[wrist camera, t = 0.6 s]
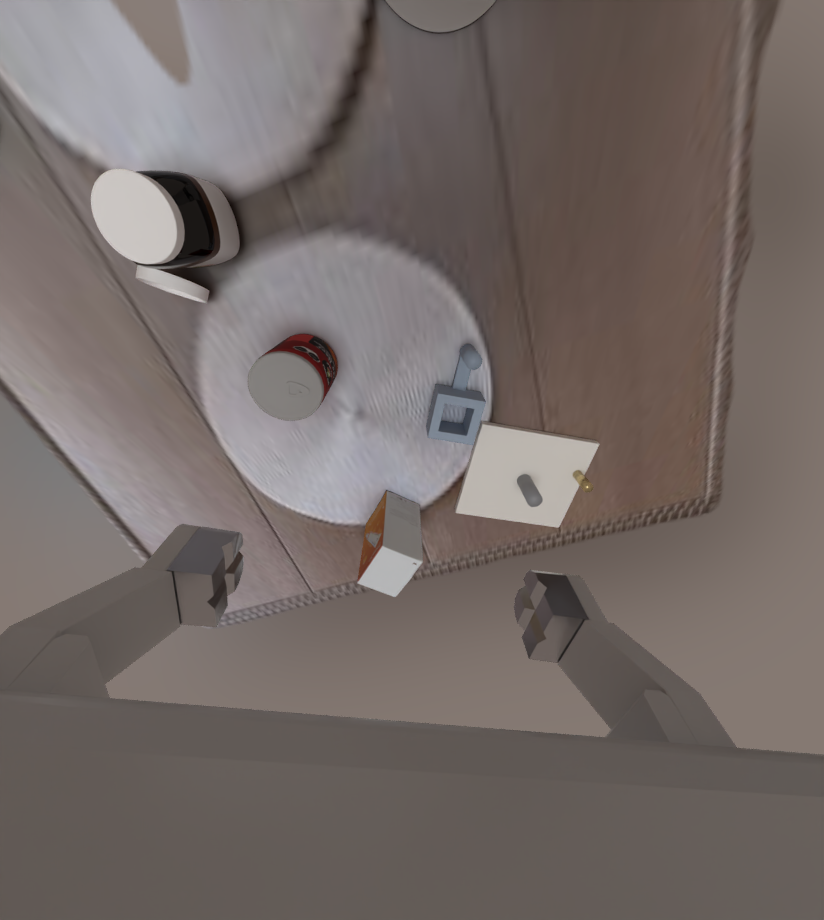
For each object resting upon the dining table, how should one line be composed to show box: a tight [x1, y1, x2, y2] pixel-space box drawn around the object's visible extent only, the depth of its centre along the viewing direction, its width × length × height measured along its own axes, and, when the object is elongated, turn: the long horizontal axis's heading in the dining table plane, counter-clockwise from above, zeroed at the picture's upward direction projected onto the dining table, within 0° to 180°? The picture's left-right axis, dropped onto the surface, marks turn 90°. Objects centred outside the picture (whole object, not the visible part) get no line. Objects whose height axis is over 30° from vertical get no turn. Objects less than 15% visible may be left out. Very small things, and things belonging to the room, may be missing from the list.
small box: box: [357, 491, 423, 597], centre depth 56 cm, size 8×6×13 cm
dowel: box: [573, 470, 593, 492], centre depth 55 cm, size 1×1×4 cm
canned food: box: [248, 334, 338, 421], centre depth 44 cm, size 8×8×11 cm
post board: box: [455, 421, 599, 527], centre depth 55 cm, size 16×18×7 cm
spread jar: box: [91, 169, 240, 303], centre depth 37 cm, size 12×11×12 cm
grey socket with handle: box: [426, 344, 486, 445], centre depth 49 cm, size 12×6×5 cm, turn 169°
